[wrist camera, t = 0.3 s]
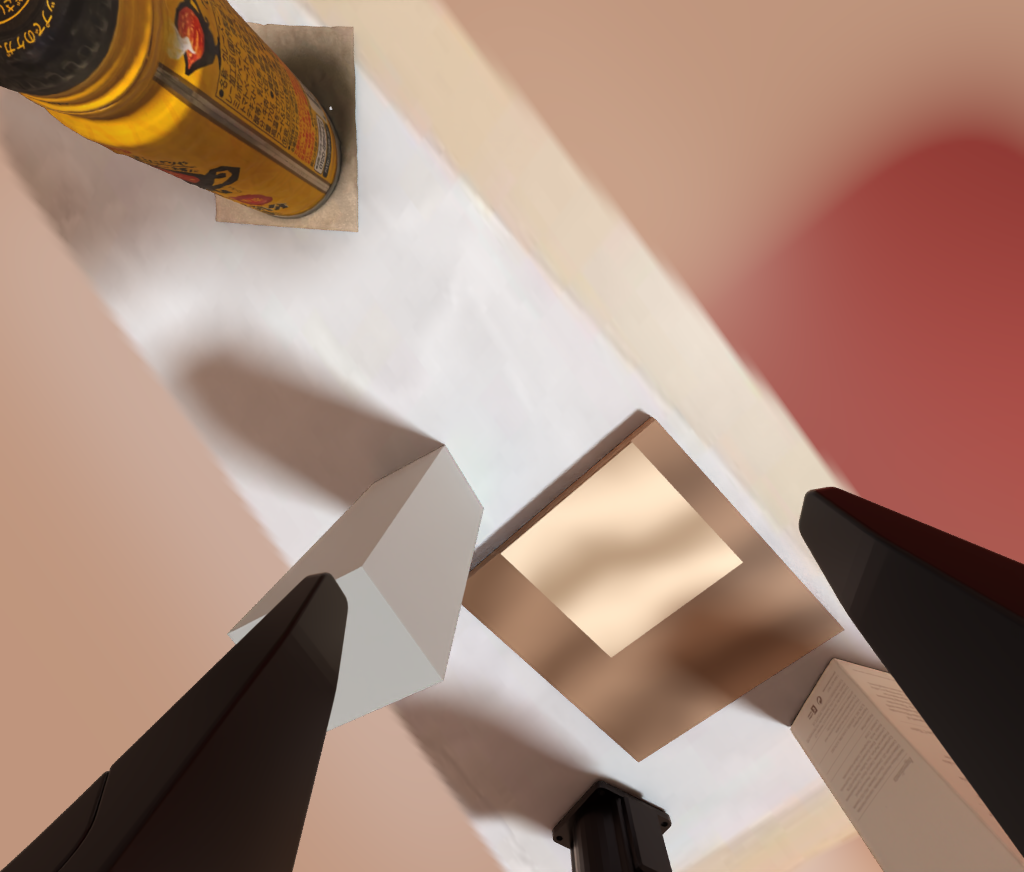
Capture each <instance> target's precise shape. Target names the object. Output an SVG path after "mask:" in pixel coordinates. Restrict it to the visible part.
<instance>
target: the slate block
mask: <svg viewBox="0 0 1024 872" xmlns="http://www.w3.org/2000/svg"><path fill="white" fill-rule="evenodd" d="M483 510H484V508H483V506H482V504H481V503H480V501H479V500H478V498H477V496H476V495H475V493H474V491H473V490H472V488H471V486H470V485H469V483H468V482H467V480H466V478H465V477H464V475H463V473H462V472H461V470H460V468H459V467H458V465H457V464H456V462H455V460H454V459H453V457H452V455H451V454H450V452H449V450H448V449H447V447H446V446H445V445H444V446H442V447H440V448H438V449H436V450H434V451H433V452H431V453H429V454H427V455H425V456H423V457H421V458H420V459H418V460H416V461H414V462H412V463H410V464H408V465H406V466H405V467H403V468H401V469H399V470H397V471H395V472H393V473H392V474H390V475H388V476H386V477H384V478H382V479H380V480H378V481H377V482H375V483H373V484H372V485H371V486H370V487H369V488H368V489H367V490H366V491H365V493H364V494H363V495H362V496H361V497H360V498H359V499H358V500H357V501H356V502H355V503H354V504H353V505H352V506H351V507H350V508H349V509H348V510H347V511H346V512H345V513H344V514H343V515H342V516H341V517H340V518H339V519H338V520H337V521H336V522H335V523H334V524H333V525H332V527H331V528H330V529H329V530H328V531H327V532H326V533H325V534H324V535H323V536H322V537H321V538H320V539H319V540H318V541H317V542H316V543H315V544H314V545H313V546H312V547H311V548H310V549H309V550H308V551H307V552H306V553H305V554H304V555H303V556H302V557H301V558H300V559H299V561H298V562H297V563H296V564H295V565H294V566H293V567H292V568H291V569H290V570H289V571H288V572H287V573H286V574H285V575H284V576H283V577H282V578H281V579H280V580H279V581H278V582H277V583H276V584H275V585H274V587H272V589H271V590H269V591H268V593H266V595H265V596H264V597H263V598H262V599H261V600H260V601H259V602H258V603H257V604H256V605H255V606H254V607H253V608H252V609H251V610H250V611H249V612H248V613H247V614H246V615H245V616H244V617H243V618H242V620H240V621H239V622H238V623H237V624H236V625H235V626H234V627H233V629H232V630H231V631H230V632H229V633H228V636H229V637H230V638H231V639H232V641H233V642H234V643H235V644H237V643H238V642H239V641H240V640H241V639H242V638H243V637H244V636H245V635H246V634H247V633H248V632H249V631H250V630H251V629H252V628H253V627H254V626H255V625H256V624H257V623H258V622H259V621H261V620H262V619H263V618H264V617H265V616H266V615H267V614H268V613H269V612H270V611H271V610H272V609H273V608H274V607H275V606H276V605H277V604H278V603H279V602H280V601H281V600H282V599H283V598H284V597H285V596H286V595H287V594H288V593H289V592H290V591H291V590H292V589H293V588H294V587H295V586H296V585H297V584H298V583H299V582H300V581H302V580H303V579H304V578H305V577H306V576H308V575H311V574H317V573H323V572H328V573H330V574H332V576H333V577H334V579H335V580H336V582H337V583H338V585H339V586H340V588H341V590H342V591H343V593H344V594H345V596H346V598H347V601H348V614H347V621H346V628H345V635H344V642H343V650H342V657H341V664H340V671H339V677H338V683H337V689H336V694H335V698H334V703H333V707H332V711H331V715H330V719H329V723H328V727H327V731H329V730H331V729H334V728H336V727H338V726H341V725H343V724H345V723H348V722H350V721H352V720H355V719H356V718H359V717H361V716H363V715H366V714H368V713H371V712H373V711H375V710H378V709H380V708H382V707H385V706H387V705H389V704H391V703H394V702H396V701H398V700H401V699H403V698H405V697H408V696H410V695H412V694H414V693H417V692H419V691H421V690H424V689H426V688H428V687H431V686H433V685H435V684H438V683H440V682H442V681H444V676H445V672H446V668H447V663H448V659H449V655H450V651H451V646H452V642H453V638H454V634H455V629H456V625H457V621H458V617H459V612H460V608H461V604H462V599H463V595H464V591H465V587H466V582H467V578H468V574H469V570H470V565H471V561H472V557H473V552H474V548H475V544H476V540H477V535H478V531H479V527H480V523H481V518H482V514H483ZM327 731H326V732H327Z"/></svg>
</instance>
